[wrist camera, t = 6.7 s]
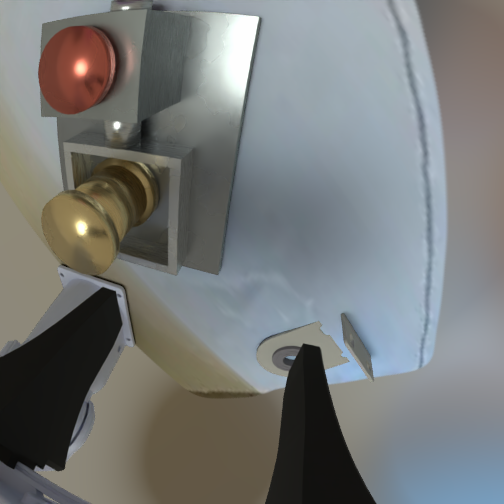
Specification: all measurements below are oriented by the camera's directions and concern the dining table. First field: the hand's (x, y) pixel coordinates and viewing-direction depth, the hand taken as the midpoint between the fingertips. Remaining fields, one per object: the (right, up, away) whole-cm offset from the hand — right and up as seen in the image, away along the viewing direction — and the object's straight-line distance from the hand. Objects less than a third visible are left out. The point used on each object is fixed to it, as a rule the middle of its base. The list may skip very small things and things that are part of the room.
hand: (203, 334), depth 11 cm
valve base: (-5, +10, +7) cm, 13 cm away
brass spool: (-7, +7, +8) cm, 13 cm away
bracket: (+8, -5, +16) cm, 19 cm away
